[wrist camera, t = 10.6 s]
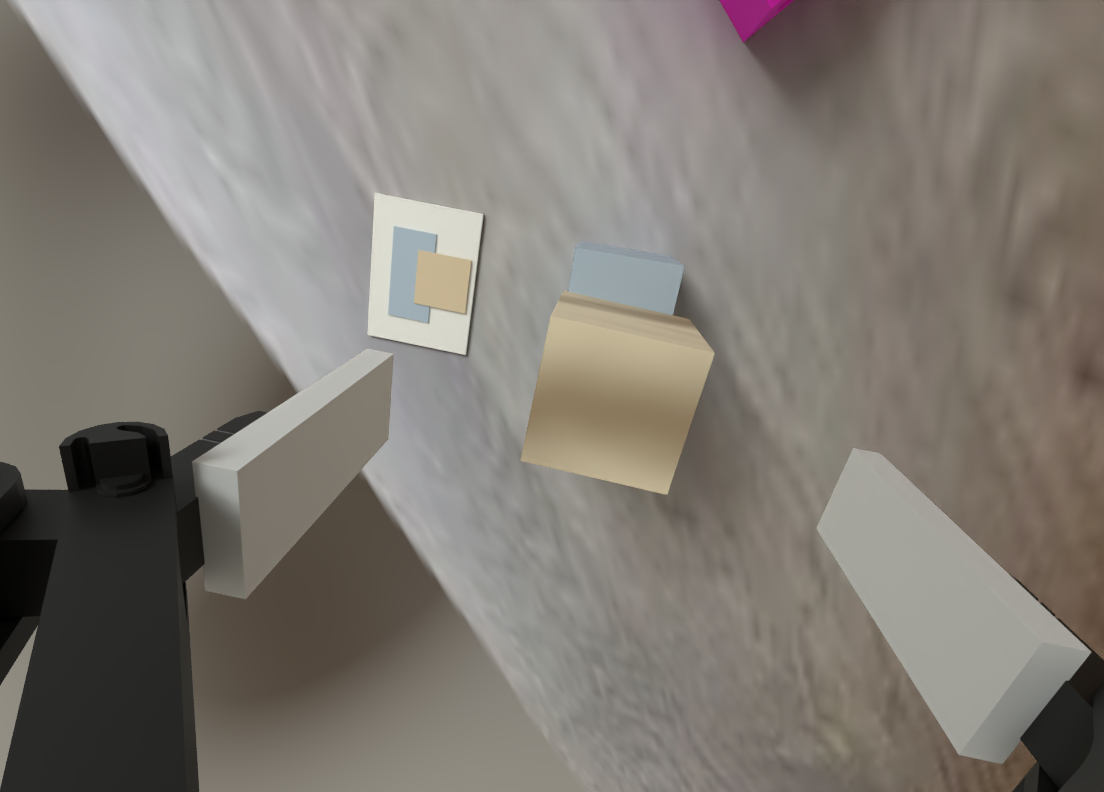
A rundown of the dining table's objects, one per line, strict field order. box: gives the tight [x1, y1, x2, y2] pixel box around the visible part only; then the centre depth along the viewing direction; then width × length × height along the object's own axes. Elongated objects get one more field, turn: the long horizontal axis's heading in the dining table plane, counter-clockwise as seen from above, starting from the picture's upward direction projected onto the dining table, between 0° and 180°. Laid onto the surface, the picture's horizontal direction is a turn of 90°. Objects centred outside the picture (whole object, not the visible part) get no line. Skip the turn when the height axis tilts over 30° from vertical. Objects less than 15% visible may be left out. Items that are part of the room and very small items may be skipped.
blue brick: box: [568, 241, 685, 315], centre depth 27 cm, size 10×5×5 cm, turn 171°
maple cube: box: [521, 291, 715, 495], centre depth 22 cm, size 6×6×6 cm
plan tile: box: [368, 193, 484, 355], centre depth 29 cm, size 8×6×1 cm
